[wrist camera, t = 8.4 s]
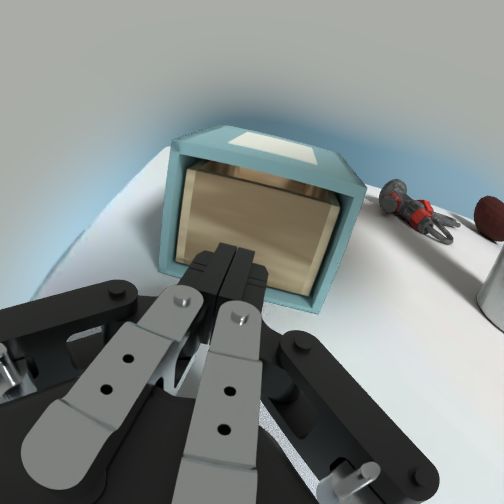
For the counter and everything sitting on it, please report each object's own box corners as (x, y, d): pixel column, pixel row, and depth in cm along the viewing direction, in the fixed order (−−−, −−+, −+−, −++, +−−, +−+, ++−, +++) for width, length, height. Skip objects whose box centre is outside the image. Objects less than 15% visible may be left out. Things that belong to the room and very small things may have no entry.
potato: (501, 252, 53) (518, 212, 48) (461, 224, 63) (476, 187, 58) (509, 250, 58) (524, 215, 53) (474, 225, 68) (487, 192, 63)
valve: (406, 254, 42) (359, 200, 53) (475, 262, 52) (435, 220, 63) (428, 219, 38) (374, 170, 49) (491, 238, 48) (448, 198, 59)
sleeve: (206, 211, 33) (222, 123, 29) (313, 238, 33) (339, 153, 28) (158, 271, 22) (172, 137, 17) (318, 314, 21) (367, 186, 17)
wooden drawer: (233, 184, 42) (244, 135, 38) (304, 202, 41) (318, 153, 38) (175, 261, 22) (187, 169, 19) (308, 296, 22) (340, 207, 19)
